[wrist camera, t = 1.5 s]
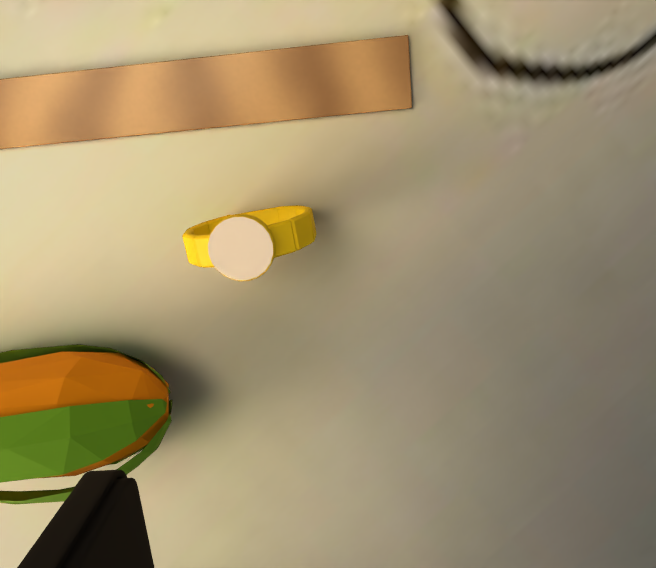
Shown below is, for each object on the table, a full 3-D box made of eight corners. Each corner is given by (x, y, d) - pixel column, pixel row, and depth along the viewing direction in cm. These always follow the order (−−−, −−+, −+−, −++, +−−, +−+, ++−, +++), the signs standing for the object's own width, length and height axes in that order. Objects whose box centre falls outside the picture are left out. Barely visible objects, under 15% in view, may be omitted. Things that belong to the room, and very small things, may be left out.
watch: (209, 258, 30) (174, 292, 24) (196, 205, 29) (158, 229, 23) (321, 240, 29) (313, 271, 23) (312, 186, 28) (301, 205, 23)
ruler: (407, 35, 26) (408, 34, 26) (411, 107, 27) (411, 107, 27) (-197, 101, 28) (-203, 101, 28) (-175, 166, 29) (-180, 166, 29)
